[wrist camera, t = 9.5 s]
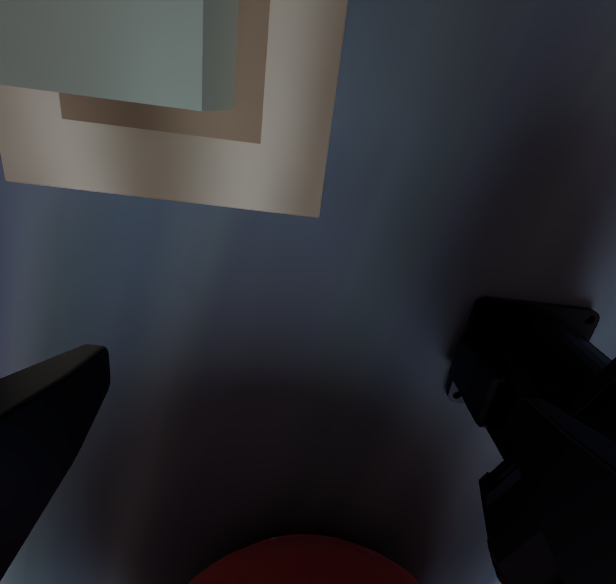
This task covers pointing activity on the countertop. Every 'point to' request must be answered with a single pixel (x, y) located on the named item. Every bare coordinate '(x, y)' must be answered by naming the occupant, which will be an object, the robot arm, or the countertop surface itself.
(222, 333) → the countertop surface
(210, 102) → the gray cube
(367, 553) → the mixing bowl
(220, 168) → the birch base
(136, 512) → the countertop surface
